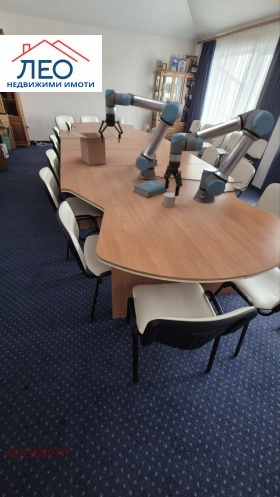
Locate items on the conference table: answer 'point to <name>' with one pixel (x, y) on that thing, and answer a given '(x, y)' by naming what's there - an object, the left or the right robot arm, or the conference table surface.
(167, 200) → the canister
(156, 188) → the book
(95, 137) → the box
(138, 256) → the conference table surface
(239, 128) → the right robot arm
